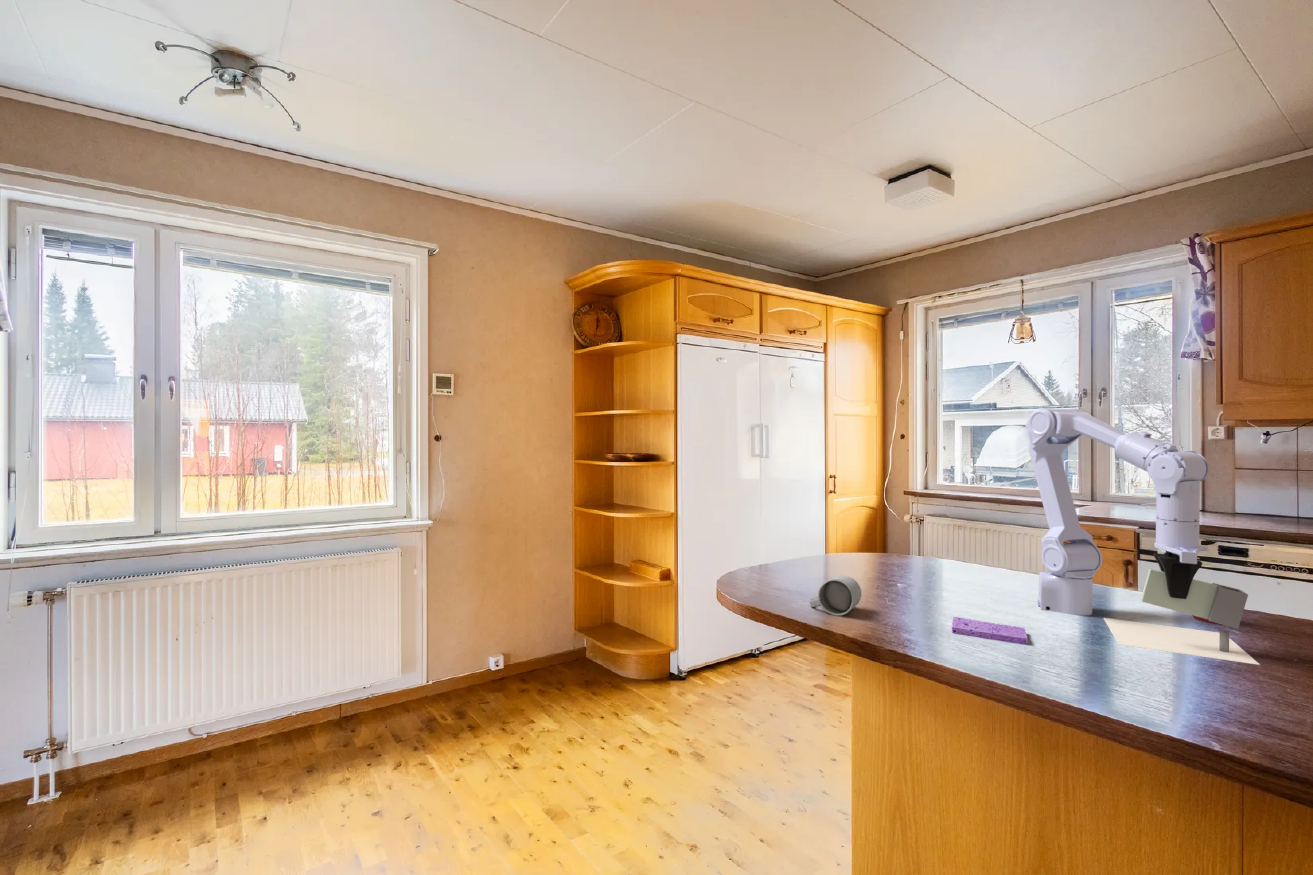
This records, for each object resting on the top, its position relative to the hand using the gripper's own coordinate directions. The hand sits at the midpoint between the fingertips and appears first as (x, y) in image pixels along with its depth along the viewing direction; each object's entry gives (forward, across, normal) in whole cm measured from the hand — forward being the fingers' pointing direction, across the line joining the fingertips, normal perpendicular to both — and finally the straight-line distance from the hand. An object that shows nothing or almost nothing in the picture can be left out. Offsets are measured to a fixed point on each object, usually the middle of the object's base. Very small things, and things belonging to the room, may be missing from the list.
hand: (1176, 596), depth 103 cm
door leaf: (+3, 0, -1) cm, 3 cm away
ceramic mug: (+10, -5, +58) cm, 59 cm away
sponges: (+11, -5, +29) cm, 31 cm away
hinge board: (+10, +4, 0) cm, 11 cm away
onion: (+10, +21, -9) cm, 25 cm away
